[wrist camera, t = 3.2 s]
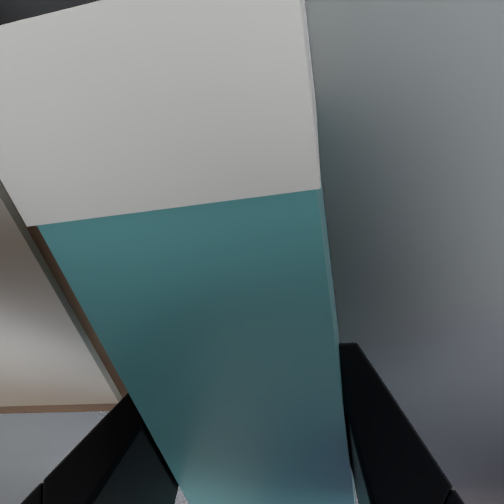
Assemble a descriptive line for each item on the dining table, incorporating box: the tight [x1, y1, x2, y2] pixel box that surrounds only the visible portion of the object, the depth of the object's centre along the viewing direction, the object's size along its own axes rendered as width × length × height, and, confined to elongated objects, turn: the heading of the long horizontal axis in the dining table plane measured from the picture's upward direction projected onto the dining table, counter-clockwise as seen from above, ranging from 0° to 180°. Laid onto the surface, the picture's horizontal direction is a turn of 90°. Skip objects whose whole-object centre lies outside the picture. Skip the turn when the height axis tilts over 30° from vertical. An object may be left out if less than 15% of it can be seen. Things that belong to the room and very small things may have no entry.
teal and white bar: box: [0, 0, 356, 504], centre depth 8 cm, size 12×4×4 cm, turn 11°
